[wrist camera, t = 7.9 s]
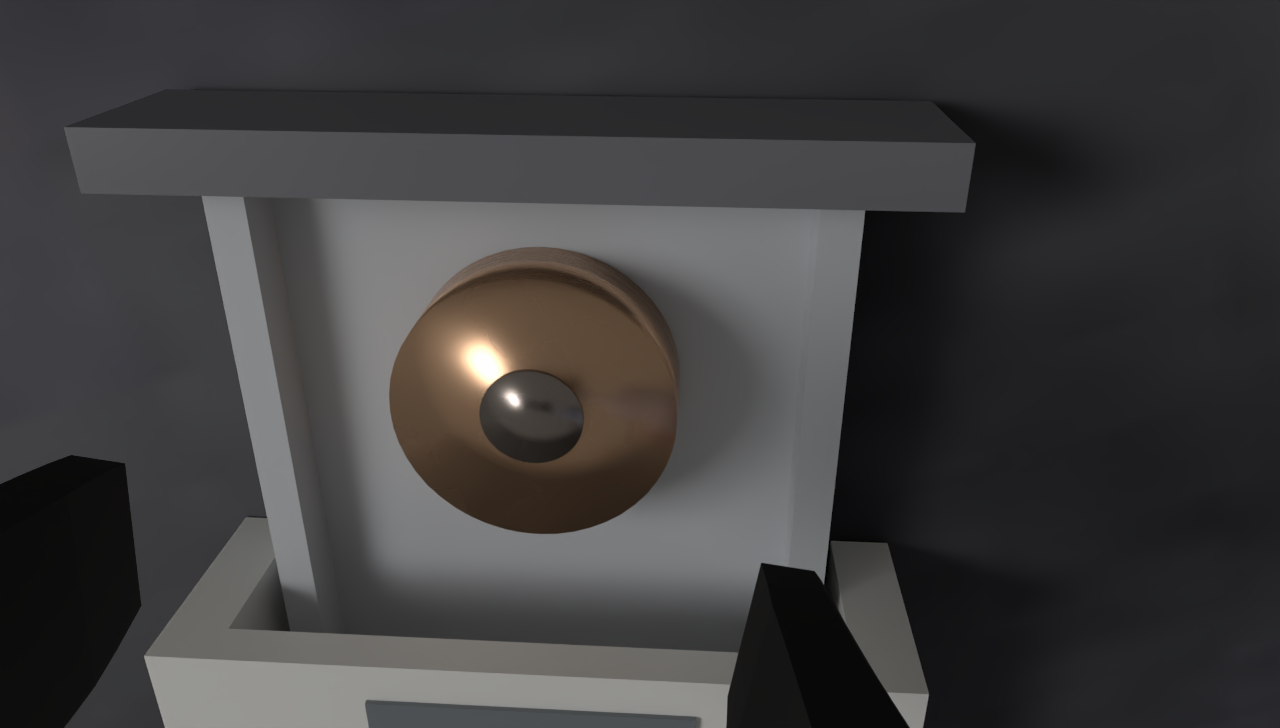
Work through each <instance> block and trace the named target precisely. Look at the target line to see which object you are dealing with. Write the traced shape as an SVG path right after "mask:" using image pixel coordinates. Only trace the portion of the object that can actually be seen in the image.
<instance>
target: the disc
mask: <svg viewBox="0 0 1280 728" xmlns="http://www.w3.org/2000/svg"><path fill="white" fill-rule="evenodd" d="M679 388H680V364H679V357H678V352H677V348H676V344H675V341H674V338H673V336H672V333H671V330H670V328H669V326H668V324H667V322H666V321H665V319H664V317H663V315H662V314H661V312H660V311H659V309H658V308H657V306H656V305H655V304H654V302H653V301H652V300H651V299H650V298H649V296H648V295H647V294H646V293H645V292H644V291H643V290H642V289H641V288H640V287H639V286H638V285H636V284H635V283H634V282H633V281H632V280H631V279H629V278H628V277H627V276H625V275H624V274H622V273H621V272H619V271H618V270H616V269H615V268H613V267H612V266H610V265H607V264H605V263H603V262H601V261H599V260H597V259H595V258H592V257H589V256H587V255H584V254H581V253H578V252H573V251H569V250H564V249H559V248H548V247H525V248H517V249H511V250H505V251H501V252H498V253H495V254H492V255H489V256H486V257H484V258H482V259H480V260H477V261H475V262H473V263H471V264H470V265H468V266H467V267H465V268H463V269H462V270H460V271H459V272H457V273H456V274H455V275H454V276H453V277H452V278H451V279H449V280H448V281H447V282H446V283H445V284H444V285H443V286H442V287H441V289H440V290H439V291H438V292H437V293H436V295H435V296H434V297H433V299H432V300H431V302H430V303H429V305H428V306H427V308H426V309H425V310H424V312H423V313H422V315H421V316H420V318H419V319H418V321H417V322H416V324H415V325H414V327H413V328H412V329H411V331H410V332H409V334H408V336H407V337H406V339H405V341H404V342H403V344H402V345H401V347H400V350H399V352H398V354H397V357H396V359H395V362H394V365H393V369H392V374H391V378H390V388H389V404H390V414H391V419H392V423H393V428H394V431H395V433H396V436H397V439H398V442H399V444H400V446H401V448H402V450H403V452H404V454H405V456H406V458H407V459H408V461H409V462H410V464H411V465H412V467H413V468H414V470H415V471H416V472H417V474H418V475H419V476H420V477H421V478H422V479H423V480H424V482H425V483H426V484H427V485H428V486H429V487H430V488H431V489H432V490H433V491H435V492H436V493H437V494H438V495H439V496H440V497H441V498H443V499H444V500H445V501H447V502H448V503H450V504H451V505H452V506H454V507H455V508H457V509H459V510H460V511H462V512H464V513H466V514H467V515H469V516H471V517H473V518H476V519H478V520H480V521H483V522H485V523H487V524H490V525H493V526H497V527H500V528H503V529H507V530H512V531H517V532H523V533H533V534H560V533H568V532H575V531H579V530H583V529H587V528H591V527H594V526H597V525H599V524H602V523H605V522H607V521H609V520H611V519H613V518H615V517H617V516H619V515H621V514H622V513H624V512H625V511H627V510H628V509H630V508H631V507H632V506H634V505H635V504H636V503H637V502H638V501H640V500H641V499H642V498H643V497H644V496H645V495H646V494H647V493H648V492H649V491H650V489H651V488H652V487H653V486H654V485H655V483H656V482H657V481H658V479H659V478H660V476H661V474H662V473H663V471H664V469H665V468H666V465H667V463H668V461H669V458H670V456H671V453H672V450H673V446H674V442H675V438H676V428H677V417H678V403H679Z"/></svg>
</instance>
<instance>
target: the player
mask: <svg viewBox="0 0 1280 728" xmlns="http://www.w3.org/2000/svg"><path fill="white" fill-rule="evenodd" d="M825 587H826V589H827V591H828V593H829V595H830V596H831V598H832V600H833V602H834V604H835V605H836V607H837V609H838V611H839V613H840V614H841V616H842V618H843V620H844V621H845V623H846V625H847V627H848V628H849V630H850V632H851V634H852V635H853V637H854V639H855V641H856V642H857V644H858V646H859V647H860V649H861V651H862V652H863V654H864V656H865V658H866V659H867V661H868V663H869V664H870V666H871V667H872V669H873V671H874V672H875V674H876V676H877V677H878V679H879V681H880V682H881V684H882V685H883V687H884V688H885V690H886V691H887V693H888V695H889V696H890V698H891V699H892V701H893V702H894V704H895V705H896V707H897V709H898V710H899V712H900V713H901V715H902V716H903V718H904V719H905V721H906V722H907V724H908V726H909V727H910V728H923V724H924V719H925V714H926V708H927V703H928V697H929V692H928V689H927V685H926V682H925V678H924V674H923V671H922V667H921V663H920V660H919V656H918V653H917V649H916V645H915V642H914V638H913V634H912V631H911V627H910V623H909V620H908V616H907V613H906V609H905V605H904V602H903V598H902V594H901V591H900V587H899V584H898V580H897V576H896V573H895V569H894V565H893V562H892V558H891V554H890V551H889V547H888V544H887V543H872V542H847V541H830V550H829V559H828V568H827V577H826V586H825ZM737 657H738V653H736V652H715V651H694V650H672V649H651V648H630V647H609V646H587V645H566V644H545V643H523V642H502V641H481V640H460V639H438V638H417V637H396V636H374V635H353V634H332V633H311V632H290V627H289V622H288V617H287V612H286V607H285V602H284V598H283V593H282V588H281V583H280V578H279V573H278V568H277V563H276V558H275V553H274V548H273V544H272V539H271V534H270V529H269V524H268V519H267V518H253V517H246V518H245V519H244V521H243V522H242V523H241V525H240V526H239V528H238V529H237V530H236V532H235V533H234V534H233V536H232V537H231V538H230V540H229V541H228V542H227V544H226V545H225V547H224V548H223V549H222V551H221V552H220V553H219V555H218V556H217V557H216V559H215V560H214V561H213V563H212V564H211V566H210V567H209V568H208V570H207V571H206V572H205V574H204V575H203V576H202V578H201V579H200V581H199V582H198V583H197V585H196V586H195V587H194V589H193V590H192V591H191V593H190V594H189V595H188V597H187V598H186V600H185V601H184V602H183V604H182V605H181V606H180V608H179V609H178V610H177V612H176V613H175V615H174V616H173V617H172V619H171V620H170V621H169V623H168V624H167V625H166V627H165V628H164V629H163V631H162V632H161V634H160V635H159V636H158V638H157V639H156V640H155V642H154V643H153V644H152V646H151V647H150V648H149V650H148V651H147V653H146V654H145V655H144V658H145V661H146V665H147V668H148V671H149V675H150V678H151V682H152V685H153V688H154V692H155V695H156V698H157V702H158V705H159V709H160V712H161V715H162V719H163V722H164V726H165V728H726V724H727V698H728V692H729V689H730V685H731V681H732V677H733V673H734V669H735V665H736V661H737Z"/></svg>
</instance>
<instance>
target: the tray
mask: <svg viewBox="0 0 1280 728" xmlns="http://www.w3.org/2000/svg"><path fill="white" fill-rule="evenodd" d="M64 130H65V134H66V138H67V141H68V145H69V149H70V153H71V157H72V161H73V164H74V168H75V172H76V176H77V180H78V184H79V187H80V191H81V193H84V194H131V195H177V196H202V200H203V205H204V210H205V215H206V220H207V224H208V229H209V234H210V239H211V244H212V249H213V254H214V259H215V264H216V269H217V274H218V278H219V283H220V288H221V293H222V298H223V303H224V308H225V313H226V318H227V323H228V328H229V332H230V337H231V342H232V347H233V352H234V357H235V362H236V367H237V372H238V377H239V382H240V386H241V391H242V396H243V401H244V406H245V411H246V416H247V421H248V426H249V431H250V436H251V440H252V445H253V450H254V455H255V460H256V465H257V470H258V475H259V480H260V485H261V490H262V494H263V499H264V504H265V509H266V514H267V519H268V524H269V529H270V534H271V539H272V544H273V548H274V553H275V558H276V563H277V568H278V573H279V578H280V583H281V588H282V593H283V598H284V602H285V607H286V612H287V617H288V622H289V627H290V632H311V633H332V634H353V635H374V636H396V637H417V638H438V639H460V640H481V641H502V642H523V643H545V644H566V645H587V646H609V647H630V648H651V649H672V650H694V651H715V652H736V653H739V649H740V645H741V641H742V637H743V633H744V629H745V625H746V621H747V617H748V613H749V609H750V605H751V601H752V597H753V593H754V589H755V585H756V581H757V577H758V573H759V569H760V566H761V563H767V564H773V565H779V566H786V567H792V568H799V569H805V570H812V571H815V572H816V573H817V575H818V576H819V578H820V579H821V580H822V582H823V584H824V580H825V571H826V562H827V553H828V544H829V535H830V525H831V516H832V507H833V498H834V489H835V480H836V471H837V462H838V453H839V444H840V435H841V426H842V417H843V408H844V399H845V390H846V381H847V372H848V362H849V353H850V344H851V335H852V326H853V317H854V308H855V299H856V290H857V281H858V272H859V263H860V254H861V245H862V236H863V227H864V218H865V210H870V211H916V212H962V213H965V209H966V203H967V196H968V190H969V184H970V177H971V171H972V165H973V158H974V152H975V146H976V143H975V142H974V141H973V140H972V139H971V138H970V137H969V136H968V135H966V134H965V133H964V132H963V131H962V130H961V129H960V128H959V127H958V126H957V125H956V124H955V123H954V122H953V121H952V120H951V119H950V118H948V117H947V116H946V115H945V114H944V113H943V112H942V111H941V110H940V109H939V108H938V107H937V106H936V105H935V104H934V103H933V102H932V101H889V100H825V99H760V98H695V97H630V96H565V95H500V94H435V93H370V92H305V91H240V90H176V89H166V90H163V91H161V92H158V93H155V94H153V95H150V96H147V97H144V98H142V99H139V100H136V101H134V102H131V103H128V104H125V105H123V106H120V107H117V108H115V109H112V110H109V111H106V112H104V113H101V114H98V115H96V116H93V117H90V118H87V119H85V120H82V121H79V122H77V123H74V124H71V125H68V126H66V127H64ZM525 247H548V248H559V249H564V250H569V251H573V252H578V253H581V254H584V255H587V256H589V257H592V258H595V259H597V260H599V261H601V262H603V263H605V264H607V265H610V266H612V267H613V268H615V269H616V270H618V271H619V272H621V273H622V274H624V275H625V276H627V277H628V278H629V279H631V280H632V281H633V282H634V283H635V284H636V285H638V286H639V287H640V288H641V289H642V290H643V291H644V292H645V293H646V294H647V295H648V296H649V298H650V299H651V300H652V301H653V302H654V304H655V305H656V306H657V308H658V309H659V311H660V312H661V314H662V315H663V317H664V319H665V321H666V322H667V324H668V326H669V328H670V330H671V333H672V336H673V338H674V341H675V344H676V348H677V352H678V357H679V364H680V388H679V403H678V417H677V428H676V438H675V442H674V446H673V450H672V453H671V456H670V458H669V461H668V463H667V465H666V468H665V469H664V471H663V473H662V474H661V476H660V478H659V479H658V481H657V482H656V483H655V485H654V486H653V487H652V488H651V489H650V491H649V492H648V493H647V494H646V495H645V496H644V497H643V498H642V499H641V500H640V501H638V502H637V503H636V504H635V505H634V506H632V507H631V508H630V509H628V510H627V511H625V512H624V513H622V514H621V515H619V516H617V517H615V518H613V519H611V520H609V521H607V522H605V523H602V524H599V525H597V526H594V527H591V528H587V529H583V530H579V531H575V532H568V533H560V534H533V533H523V532H517V531H512V530H507V529H503V528H500V527H497V526H493V525H490V524H487V523H485V522H483V521H480V520H478V519H476V518H473V517H471V516H469V515H467V514H466V513H464V512H462V511H460V510H459V509H457V508H455V507H454V506H452V505H451V504H450V503H448V502H447V501H445V500H444V499H443V498H441V497H440V496H439V495H438V494H437V493H436V492H435V491H433V490H432V489H431V488H430V487H429V486H428V485H427V484H426V483H425V482H424V480H423V479H422V478H421V477H420V476H419V475H418V474H417V472H416V471H415V470H414V468H413V467H412V465H411V464H410V462H409V461H408V459H407V458H406V456H405V454H404V452H403V450H402V448H401V446H400V444H399V442H398V439H397V436H396V433H395V431H394V428H393V423H392V419H391V414H390V404H389V388H390V378H391V374H392V369H393V365H394V362H395V359H396V357H397V354H398V352H399V350H400V347H401V345H402V344H403V342H404V341H405V339H406V337H407V336H408V334H409V332H410V331H411V329H412V328H413V327H414V325H415V324H416V322H417V321H418V319H419V318H420V316H421V315H422V313H423V312H424V310H425V309H426V308H427V306H428V305H429V303H430V302H431V300H432V299H433V297H434V296H435V295H436V293H437V292H438V291H439V290H440V289H441V287H442V286H443V285H444V284H445V283H446V282H447V281H448V280H449V279H451V278H452V277H453V276H454V275H455V274H456V273H457V272H459V271H460V270H462V269H463V268H465V267H467V266H468V265H470V264H471V263H473V262H475V261H477V260H480V259H482V258H484V257H486V256H489V255H492V254H495V253H498V252H501V251H505V250H511V249H517V248H525Z"/></svg>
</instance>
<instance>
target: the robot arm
mask: <svg viewBox="0 0 1280 728" xmlns="http://www.w3.org/2000/svg"><path fill="white" fill-rule="evenodd" d="M140 607H141V600H140V591H139V582H138V573H137V565H136V556H135V547H134V538H133V530H132V521H131V512H130V503H129V495H128V486H127V477H126V468H125V463H118V462H112V461H106V460H99V459H93V458H86V457H80V456H73V455H70V456H67V457H65V458H62V459H59V460H57V461H54V462H51V463H49V464H46V465H44V466H41V467H39V468H37V469H34V470H32V471H29V472H27V473H25V474H22V475H20V476H18V477H16V478H13V479H11V480H9V481H6V482H4V483H2V484H0V728H64V727H65V726H66V724H67V723H68V722H69V720H70V719H71V718H72V716H73V715H74V714H75V712H76V711H77V710H78V709H79V707H80V706H81V704H82V703H83V702H84V700H85V699H86V698H87V696H88V695H89V694H90V692H91V691H92V690H93V688H94V687H95V685H96V684H97V682H98V680H99V679H100V677H101V675H102V674H103V672H104V670H105V669H106V667H107V665H108V664H109V662H110V660H111V659H112V657H113V655H114V654H115V652H116V650H117V649H118V647H119V645H120V643H121V641H122V639H123V638H124V636H125V634H126V632H127V630H128V629H129V627H130V625H131V623H132V621H133V620H134V618H135V616H136V614H137V612H138V611H139V609H140ZM726 728H910V727H909V726H908V724H907V722H906V721H905V719H904V718H903V716H902V715H901V713H900V712H899V710H898V709H897V707H896V705H895V704H894V702H893V701H892V699H891V698H890V696H889V695H888V693H887V691H886V690H885V688H884V687H883V685H882V684H881V682H880V681H879V679H878V677H877V676H876V674H875V672H874V671H873V669H872V667H871V666H870V664H869V663H868V661H867V659H866V658H865V656H864V654H863V652H862V651H861V649H860V647H859V646H858V644H857V642H856V641H855V639H854V637H853V635H852V634H851V632H850V630H849V628H848V627H847V625H846V623H845V621H844V620H843V618H842V616H841V614H840V613H839V611H838V609H837V607H836V605H835V604H834V602H833V600H832V598H831V596H830V595H829V593H828V591H827V589H826V587H825V586H824V584H823V582H822V580H821V579H820V578H819V576H818V575H817V573H816V572H815V571H812V570H805V569H799V568H792V567H786V566H779V565H773V564H767V563H761V566H760V569H759V573H758V577H757V581H756V585H755V589H754V593H753V597H752V601H751V605H750V609H749V613H748V617H747V621H746V625H745V629H744V633H743V637H742V641H741V645H740V649H739V653H738V657H737V661H736V665H735V669H734V673H733V677H732V681H731V685H730V689H729V692H728V698H727V724H726Z"/></svg>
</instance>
